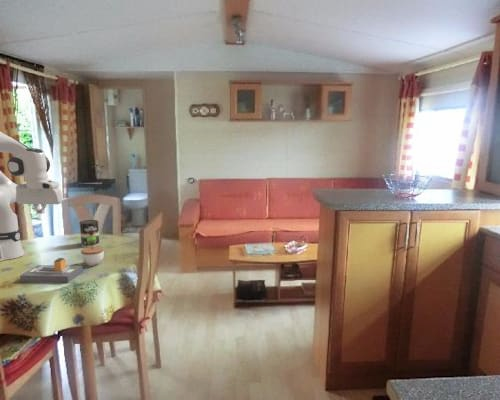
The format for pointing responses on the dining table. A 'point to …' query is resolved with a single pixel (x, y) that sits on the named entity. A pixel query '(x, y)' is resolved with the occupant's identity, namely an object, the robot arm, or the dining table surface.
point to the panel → (51, 274)
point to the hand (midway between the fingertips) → (40, 213)
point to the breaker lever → (59, 264)
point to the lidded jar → (92, 255)
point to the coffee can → (89, 233)
